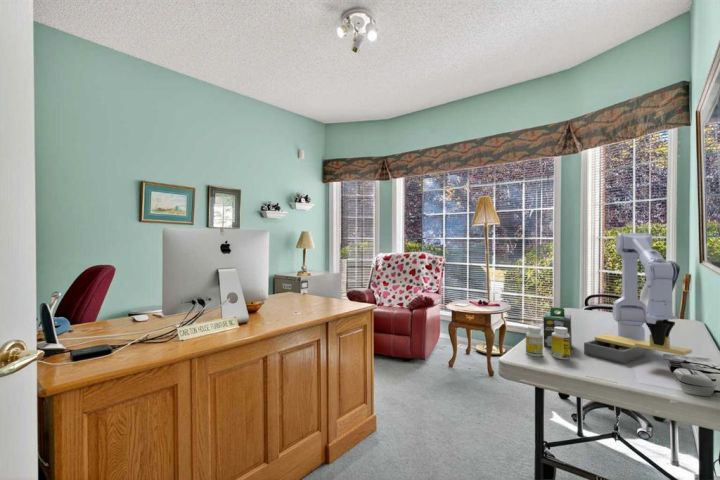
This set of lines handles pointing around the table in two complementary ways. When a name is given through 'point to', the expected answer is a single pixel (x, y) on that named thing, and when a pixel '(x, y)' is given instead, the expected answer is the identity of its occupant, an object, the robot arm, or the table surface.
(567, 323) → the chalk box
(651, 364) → the table surface
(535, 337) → the supplement bottle
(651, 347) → the lid end segment
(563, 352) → the supplement bottle
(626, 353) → the parts tub
